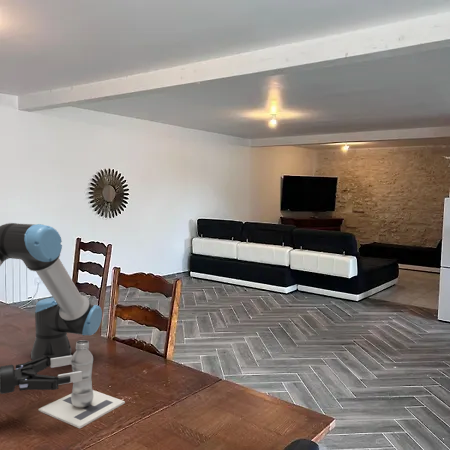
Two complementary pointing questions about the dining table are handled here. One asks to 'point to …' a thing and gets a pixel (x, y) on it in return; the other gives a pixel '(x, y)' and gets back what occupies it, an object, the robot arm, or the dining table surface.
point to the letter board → (81, 409)
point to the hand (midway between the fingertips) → (76, 367)
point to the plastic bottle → (82, 362)
